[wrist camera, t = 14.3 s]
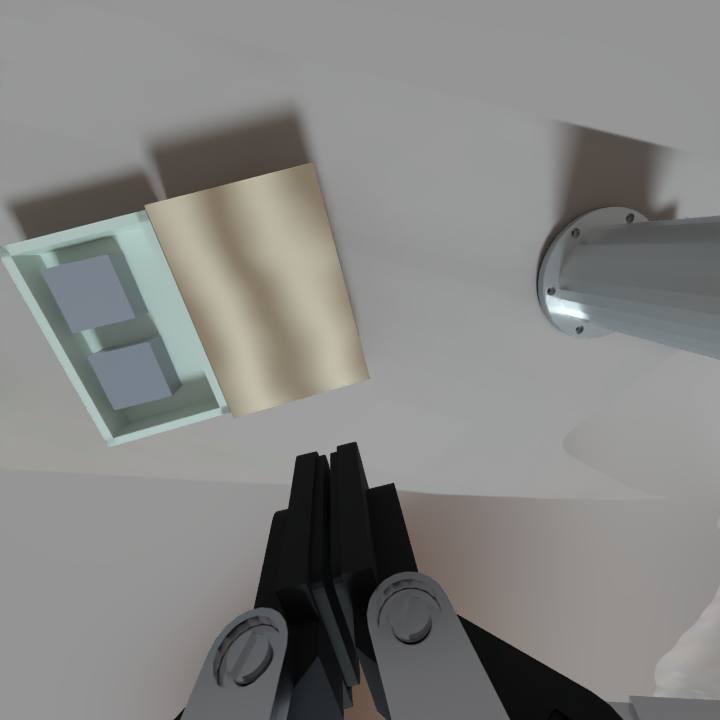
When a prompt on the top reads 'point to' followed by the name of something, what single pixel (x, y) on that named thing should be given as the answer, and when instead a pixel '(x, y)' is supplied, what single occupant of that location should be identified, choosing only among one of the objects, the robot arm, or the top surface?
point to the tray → (120, 325)
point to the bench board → (263, 287)
